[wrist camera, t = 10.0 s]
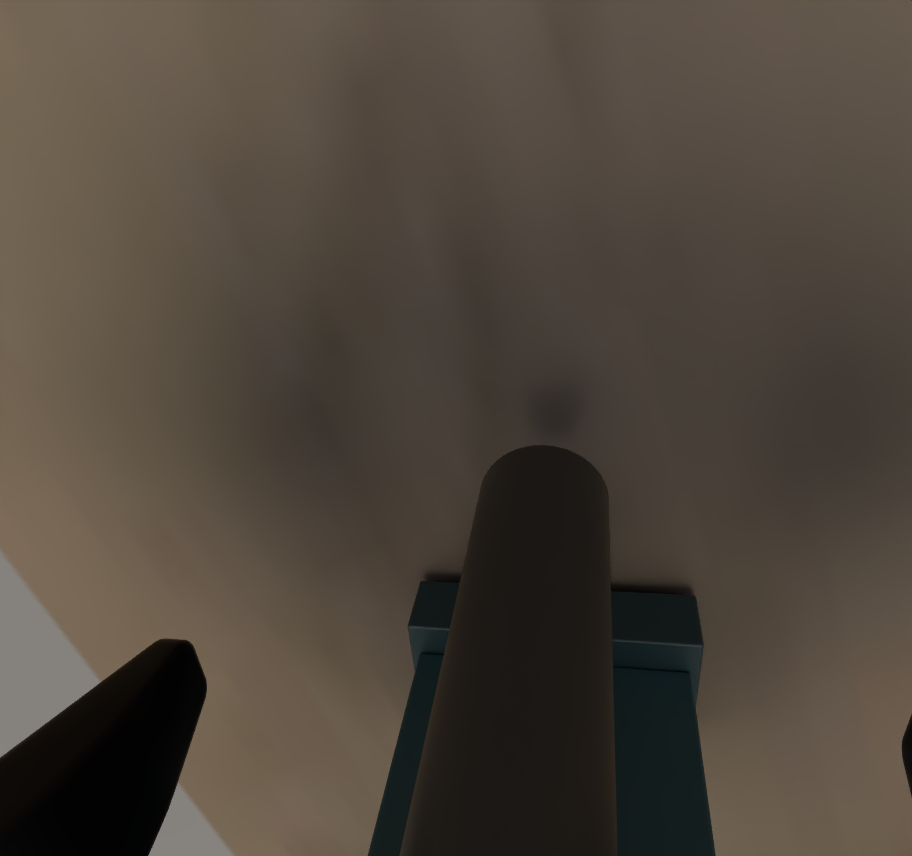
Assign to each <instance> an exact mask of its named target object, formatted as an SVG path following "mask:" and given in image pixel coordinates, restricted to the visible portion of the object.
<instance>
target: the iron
mask: <svg viewBox="0 0 912 856" xmlns="http://www.w3.org/2000/svg"><path fill="white" fill-rule="evenodd" d="M408 631H409V637H410V643H411V650H412V656H413V662H414V668H415V674H414V678H413V682H412V686H411V690H410V693H409V697H408V701H407V705H406V709H405V713H404V717H403V721H402V724H401V728H400V732H399V736H398V740H397V744H396V748H395V752H394V756H393V759H392V763H391V767H390V771H389V775H388V779H387V783H386V787H385V791H384V794H383V798H382V802H381V806H380V810H379V814H378V818H377V822H376V825H375V829H374V833H373V837H372V841H371V845H370V849H369V853H368V856H716V855H715V848H714V840H713V833H712V826H711V818H710V811H709V804H708V796H707V789H706V782H705V774H704V767H703V759H702V752H701V745H700V737H699V730H698V723H697V715H696V708H695V706H696V699H697V692H698V684H699V677H700V670H701V662H702V655H703V648H704V644H703V637H702V631H701V625H700V619H699V613H698V606H697V600H696V597H695V596H693V595H674V594H656V593H638V592H619V591H611V573H610V533H609V497H608V491H607V487H606V484H605V482H604V480H603V478H602V476H601V475H600V473H599V472H598V471H597V470H596V468H595V467H594V466H593V465H592V464H591V463H590V462H588V461H587V460H586V459H584V458H583V457H581V456H580V455H578V454H576V453H574V452H572V451H569V450H567V449H563V448H560V447H555V446H546V445H535V446H528V447H523V448H519V449H516V450H514V451H511V452H509V453H508V454H506V455H504V456H503V457H501V458H500V459H499V460H497V461H496V462H495V463H494V464H493V465H492V466H491V467H490V469H489V470H488V471H487V473H486V475H485V477H484V479H483V482H482V485H481V490H480V494H479V499H478V503H477V508H476V512H475V517H474V521H473V526H472V530H471V535H470V539H469V544H468V548H467V553H466V557H465V562H464V566H463V571H462V575H461V580H460V583H453V582H435V581H421V582H420V585H419V589H418V592H417V596H416V599H415V602H414V606H413V609H412V613H411V616H410V620H409V623H408Z"/></svg>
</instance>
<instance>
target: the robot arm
mask: <svg viewBox="0 0 912 856" xmlns="http://www.w3.org/2000/svg"><path fill="white" fill-rule="evenodd" d="M206 692H207V682H206V678H205V675H204V672H203V670H202V667H201V664H200V662H199V659H198V657H197V654H196V651H195V649H194V647H193V645H192V644H191V643H190V642H189V641H187V640H179V639H160V640H158V641H156V642H154V643H153V644H152V645H150V646H149V647H148V648H146V649H145V650H144V651H142V652H141V653H140V654H138V655H137V656H136V657H134V658H133V659H132V660H130V661H129V662H128V663H126V664H125V665H124V666H122V667H121V668H120V669H118V670H117V671H115V672H114V673H113V674H111V675H110V676H109V677H107V678H106V679H105V680H103V681H102V682H101V683H99V684H98V685H97V686H96V687H94V688H93V689H91V690H90V691H89V692H88V693H86V694H85V695H84V696H82V697H81V698H79V700H77V701H75V702H74V703H73V704H72V705H70V706H69V707H67V708H66V709H65V710H63V711H62V712H61V713H60V714H58V715H57V716H55V717H54V718H53V719H51V720H50V721H49V722H47V723H46V724H45V725H43V726H42V727H41V728H40V729H38V730H37V731H35V732H34V733H33V734H31V735H30V736H29V737H27V738H26V739H25V740H23V741H22V742H21V743H19V744H18V745H17V746H15V747H14V748H13V749H11V750H10V751H9V752H7V753H6V754H5V755H3V756H2V757H1V758H0V856H148V855H149V853H150V851H151V848H152V846H153V844H154V841H155V839H156V837H157V835H158V832H159V830H160V828H161V825H162V823H163V821H164V818H165V816H166V813H167V811H168V809H169V806H170V803H171V800H172V798H173V795H174V792H175V789H176V786H177V783H178V780H179V777H180V774H181V771H182V768H183V765H184V762H185V759H186V756H187V753H188V750H189V747H190V743H191V740H192V737H193V734H194V731H195V728H196V725H197V722H198V719H199V716H200V713H201V710H202V707H203V704H204V701H205V697H206ZM902 757H903V762H904V767H905V771H906V775H907V779H908V783H909V788H910V792H911V796H912V715H911V717H910V720H909V723H908V725H907V728H906V731H905V733H904V736H903V740H902Z"/></svg>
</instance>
